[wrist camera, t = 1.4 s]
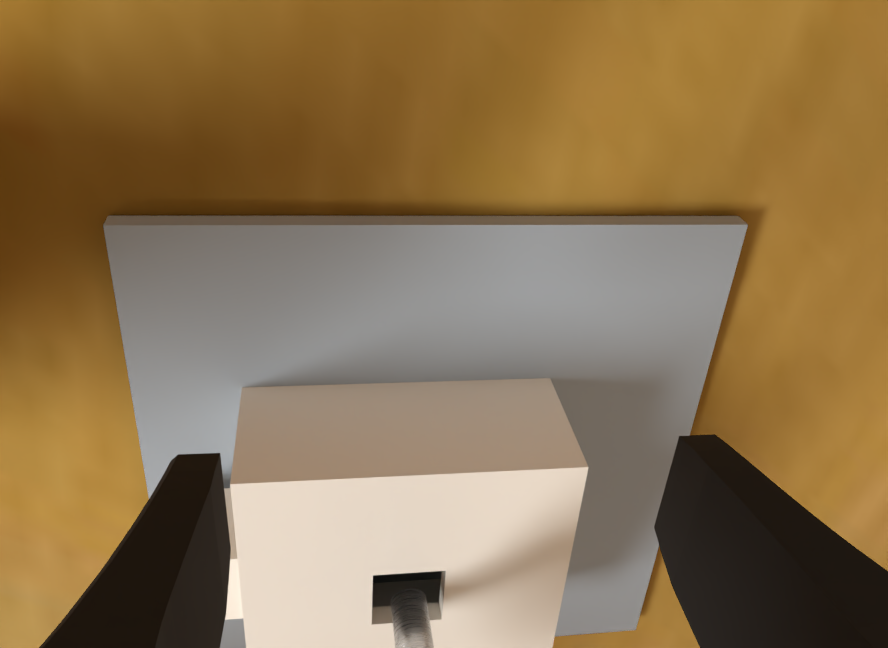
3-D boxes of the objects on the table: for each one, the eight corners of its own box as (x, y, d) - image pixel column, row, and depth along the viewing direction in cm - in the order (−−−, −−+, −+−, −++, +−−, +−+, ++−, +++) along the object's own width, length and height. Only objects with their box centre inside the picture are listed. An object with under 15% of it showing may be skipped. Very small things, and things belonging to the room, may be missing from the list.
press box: (517, 585, 29) (544, 685, 26) (210, 606, 27) (197, 716, 24) (549, 377, 24) (588, 466, 21) (183, 389, 23) (160, 487, 19)
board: (630, 616, 32) (635, 629, 31) (179, 652, 29) (177, 666, 29) (738, 216, 23) (748, 224, 23) (108, 215, 20) (102, 225, 20)
